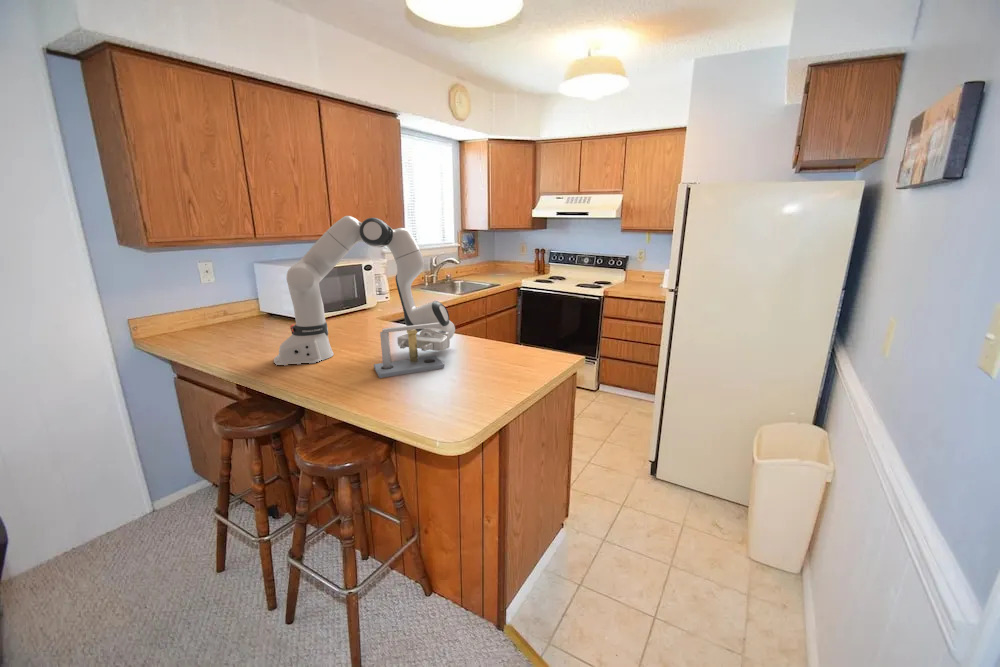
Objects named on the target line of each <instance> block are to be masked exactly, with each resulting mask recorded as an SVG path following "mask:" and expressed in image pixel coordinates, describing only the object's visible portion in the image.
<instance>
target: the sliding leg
mask: <svg viewBox="0 0 1000 667" xmlns="http://www.w3.org/2000/svg"><path fill="white" fill-rule="evenodd" d="M406 334H408V342H409V347H408V353H409V359H410V362H417V361H418V358H419V357H418V348H417V339H416V334H418V332H417V330H416V329H413V330H406Z"/></svg>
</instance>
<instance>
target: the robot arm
mask: <svg viewBox="0 0 1000 667" xmlns="http://www.w3.org/2000/svg"><path fill="white" fill-rule="evenodd" d="M361 242H364V243H366V244H367V245H368V246H369V247H372V248H383V247H387V248H388V249H389V251H391V254H392V256H393V258H394V262H395V264H396V269H397V272H396V274H395V283H396V288H397V292H398V295H399V300H400V303H401V306H402V310H403V315H404V316H403V317H404V323H405V326H411V325H421V324H430V323H439V324H440V326H439V327H431V328H422V329H416V330H417V334H416V339H417V349H420V350H421V351H423V352H426V351H429V350H430V351H431V350H432V351H438V352H440V351H445V350H447V349H450V343H451V341H450V340H451V339H452V338H453V336H454V334H455V332H456V326H455V324H454V323H453V321H451V320H450V316H449V311H448V309H447V307H446V306H445V305H444V304H443V303H442V302H440V301H438V300H434V301H431V302H428V303H425V304H423V305H420V306H416V304H415V300H414V296H413V293H412V284H413V282H414V281H415V279H416V278H417V277H419V275H420V274H421V273H422V272H423V269H424V266H425V259H424V255H423V253H422V251H421V248H420V246H419V244H418V242H417V240H416V239H415V237H414V236H413V234H412V233H411V231H410V230H409V229H408V228H406V227H398V228H394V229H393V228H392V227H391V226H390V225H388V224H387V223H386V222H385V221H383V220H382V219H380V218H377V217H369V218H366V219H364V220H363V221H362V222H361V221H359V219H357V218H355V217H353V216H352V215H345V216H343V217H341V218H340V219H339V220H337V221H336V222H334V223H333V225H331V226H330V227H329V228H328V229H327V230H326V231H325V232H324V233H323V234H322V235H321V237H319V239H317V241H316V242H315V243H314V244H313V245H312V246H311V247H310V248H309V250H308V251H307V252H306V253H305V254H304V255H303V256H302V257H301V258H300V260H299V261H298V262H297V263H295V264H293V265H292V266H291V267H290V268H289V269H288V271H287V273H286V283H287V286H288V290H289V294H290V299H291V301H292V305H293V311H294V318H295V324H294V323H293V324H290V326H289V328H290V331H291V332H290V333H291V335H290V336H289V337H288V338H286V339H285V340H284V341H283V342H282V343H281V344H280V346H279V349H278V355H276V356H275V357H274V358H273V363H275V364H276V365H275V364H274V365H275V366H277V365H284V366H288V365H287V364H297V365H302V364H301V363H309V364H317V363H316V362H318V363H320V362H322V361H324V360H327V359H329V358H331V357H333V356H334V354H335V353H334V352H333V349H332V347H331V344H330V339H329V329H328V327H329V326H328V323H327V321H326V315H325V308H324V307H325V306H324V302H323V298H322V293H321V287H320V283H321V281H322V280H323V279H324V278H325V277H326V276H327V275H328V274H329V273H330V272H331V271H332V270H333V269H334V268H335V267H336V266H337V265H338V263H339V262H341V260H342V259H344V257H345V256H347V254H348V253H349V252H350V251H351V250H352V249H353V248H354V247H355V246H356V245H357V244H358V243H361ZM418 333H419V334H418ZM396 341H397V342H396V343H397V346H398V347H399V348H400V349H405V348H409V342H408V333H405V334H404V335H400V336H398V337H397V340H396ZM321 360H322V361H321ZM319 361H320V362H319Z"/></svg>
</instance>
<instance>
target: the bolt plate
mask: <svg viewBox="0 0 1000 667" xmlns="http://www.w3.org/2000/svg"><path fill="white" fill-rule="evenodd" d="M439 326H440V324H439V323H430V324H421V325H411V326H406V325H405V326H404V325H403V326H402V325H401V326H395V327H385V328H382V331H380V332H379V334H380V335H379V336H380V346H381V358H382V362H381V363H374V364H373V368H374V371H375V373H376V375H377V376H378V379H381V378H383V379H384V378H391V377H395V376H401V375H402V376H403V375H409V374H414V373H415V374H416V373H421V372H428V371H433V370H440V369H441V370H442V369H445V364H444V362H443V361H441V360H440V359H439V357H437V356H436V355H428V356H423V357H422V356H421V357H418V361H417V362H410V358H408V359H402V360H401V359H400V360H395V361H392V356H391V344H390V342H391V341H390V336H389V335H390V334H389V333H394V332H403V331H407V330H413V329H422V328H425V329H426V328H431V327H439Z"/></svg>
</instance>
